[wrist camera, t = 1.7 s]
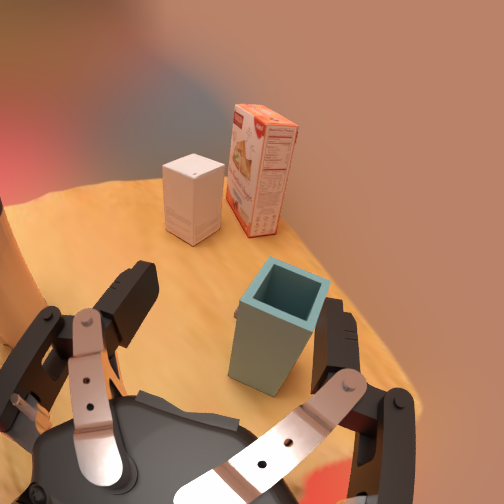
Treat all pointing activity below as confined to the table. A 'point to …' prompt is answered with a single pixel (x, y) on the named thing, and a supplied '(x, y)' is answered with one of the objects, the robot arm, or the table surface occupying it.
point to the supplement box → (193, 197)
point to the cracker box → (259, 167)
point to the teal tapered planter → (275, 324)
